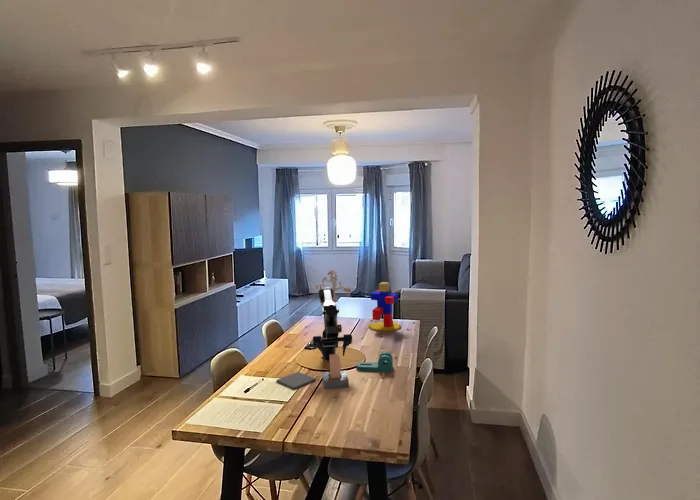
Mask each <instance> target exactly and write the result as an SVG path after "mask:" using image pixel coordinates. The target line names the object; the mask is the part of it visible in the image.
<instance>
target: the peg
mask: <svg viewBox="0 0 700 500" xmlns="http://www.w3.org/2000/svg"><path fill="white" fill-rule="evenodd" d="M329 356H330V361H329V372H330V379H333V378H340V371H341V357H340V354H339V353H336V354H331V355H329Z"/></svg>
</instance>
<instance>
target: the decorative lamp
mask: <svg viewBox="0 0 700 500" xmlns="http://www.w3.org/2000/svg"><path fill="white" fill-rule="evenodd" d="M337 273H338V272H337V271H335V270H333V269H330V270H329V271H328V272H327V276H329V275H330V276H329V279H328V277H327V276H325V277H324V278H322V281H321V284H316V285H315V288H316V290H318V288H319V290H321V289H322V288H326V284H324V283H325V282H327V283H328V282H330V283H331V286H332V287H331V289H332V290H333V291H334V297H333V299H332V301H333V302H335V303H338V302H339V299H338V298H336V291H338V290H341V289H343V291H344V292H346V293H347V296H346V298H348V297H350V295H351V293H352V294H353V292H352V289H351V287H350V286H349V285H347V287H346V286H344V285H342V282H341V281H338V276H337ZM324 281H325V282H324ZM337 283H338V285H339V286H338V287H337ZM336 322H337V325H339V324H338V319H337V320H336Z"/></svg>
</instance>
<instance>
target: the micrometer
mask: <svg viewBox="0 0 700 500" xmlns="http://www.w3.org/2000/svg"><path fill="white" fill-rule="evenodd" d="M304 349H306V350H309V351H311V350H312V349H313V350H316V349H317V348H316V346H313V339H311V340H310V341H308V342H307V344H306V345H305V346H304Z"/></svg>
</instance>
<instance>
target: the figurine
mask: <svg viewBox="0 0 700 500" xmlns="http://www.w3.org/2000/svg"><path fill="white" fill-rule="evenodd" d="M390 289H391V288H390V282H388V281H387V282H386V281H382V282H380V283H379V284H378V289H376V290H375V291H373V292H371V293H370V300H371V301H376V304H377V305H376V307H374V308H373V309H372V320H374V321H379V322H373V323H371V324H369V325H368V329H369V330H371V331H372V332H377V333H378V332H379V333H393V332H397V331H400V330H401V329H402V326H401V325H400V324H399V323H397V322H394V321H393V304H395V303H397V302H398V301H399V293H392V292H391V293H389V292H390ZM382 316H383V321H381V318H382Z"/></svg>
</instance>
